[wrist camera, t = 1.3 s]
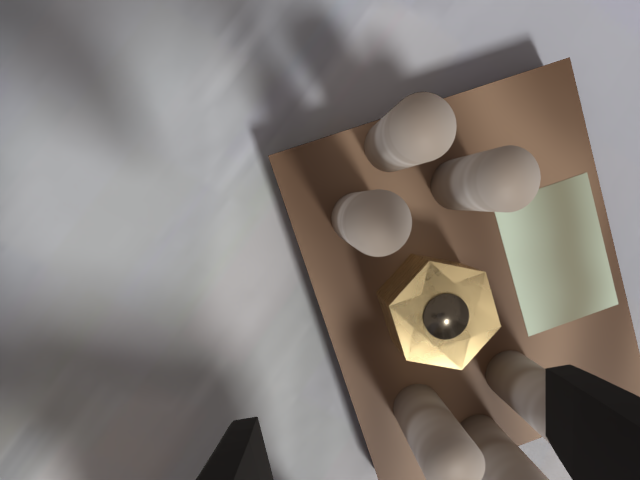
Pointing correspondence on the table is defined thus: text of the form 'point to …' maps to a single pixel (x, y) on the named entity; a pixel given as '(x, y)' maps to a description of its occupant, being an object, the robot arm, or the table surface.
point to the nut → (438, 311)
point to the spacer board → (472, 250)
